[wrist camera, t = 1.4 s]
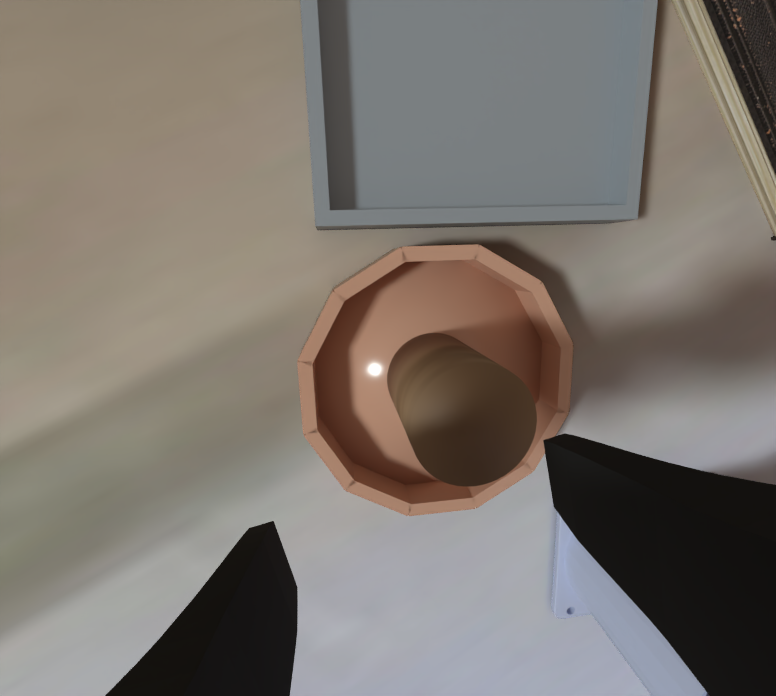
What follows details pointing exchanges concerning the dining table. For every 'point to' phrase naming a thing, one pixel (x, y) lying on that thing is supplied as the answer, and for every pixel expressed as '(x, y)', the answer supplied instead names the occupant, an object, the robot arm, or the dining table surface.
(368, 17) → the slate-grey tray
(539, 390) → the terracotta dish
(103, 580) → the dining table surface
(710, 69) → the hardcover book
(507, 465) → the walnut cylinder
